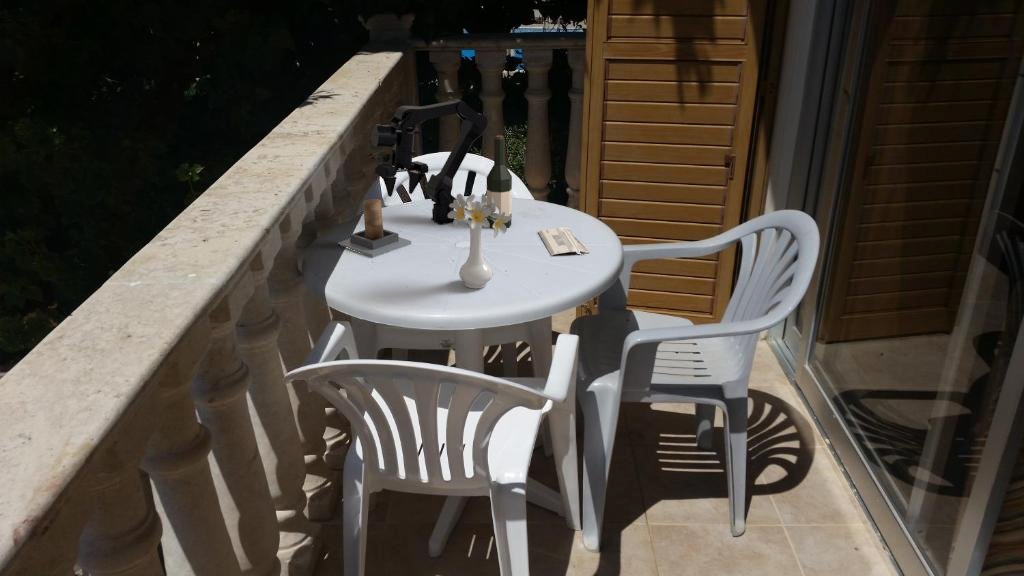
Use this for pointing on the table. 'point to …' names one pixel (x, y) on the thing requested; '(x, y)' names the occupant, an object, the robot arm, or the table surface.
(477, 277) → the flower vase
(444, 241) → the table surface
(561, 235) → the newspaper
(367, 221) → the peg
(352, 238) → the collar
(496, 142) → the wine bottle
